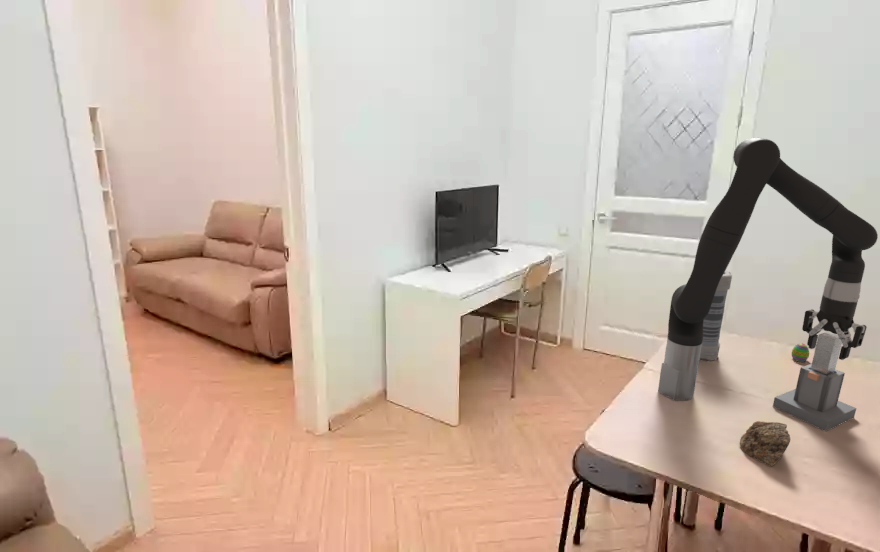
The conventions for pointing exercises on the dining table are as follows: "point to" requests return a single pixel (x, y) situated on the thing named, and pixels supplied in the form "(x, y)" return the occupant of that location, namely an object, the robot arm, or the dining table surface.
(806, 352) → the egg
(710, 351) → the canister
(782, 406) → the stand
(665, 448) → the dining table surface
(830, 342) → the column
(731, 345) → the dining table surface
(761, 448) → the rock
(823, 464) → the dining table surface
